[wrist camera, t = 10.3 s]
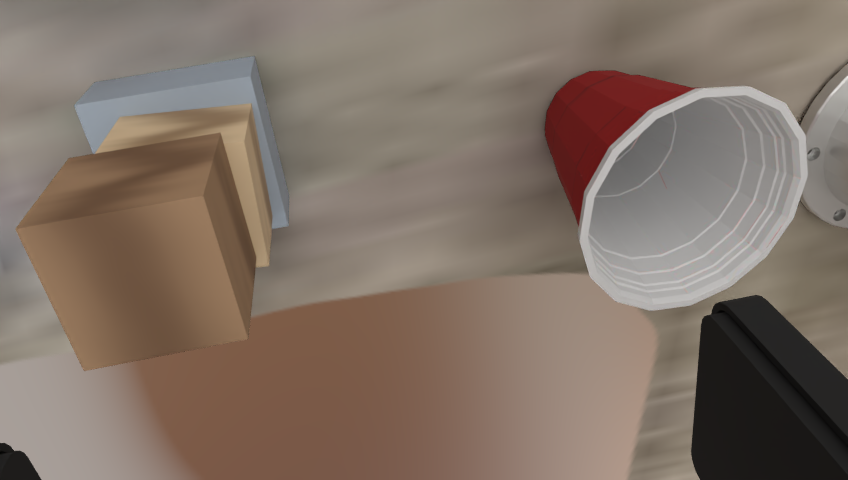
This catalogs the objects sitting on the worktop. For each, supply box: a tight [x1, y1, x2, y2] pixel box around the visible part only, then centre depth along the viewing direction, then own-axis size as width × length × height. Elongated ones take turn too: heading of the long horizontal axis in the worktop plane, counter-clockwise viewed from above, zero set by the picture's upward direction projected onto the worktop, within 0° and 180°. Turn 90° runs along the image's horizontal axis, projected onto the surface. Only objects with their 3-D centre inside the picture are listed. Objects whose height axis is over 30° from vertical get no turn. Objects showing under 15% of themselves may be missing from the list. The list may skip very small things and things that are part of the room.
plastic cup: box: [545, 71, 808, 311], centre depth 34 cm, size 11×11×12 cm
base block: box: [74, 56, 289, 229], centre depth 35 cm, size 8×8×4 cm
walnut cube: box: [16, 132, 256, 371], centre depth 26 cm, size 6×6×6 cm
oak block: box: [95, 103, 273, 267], centre depth 31 cm, size 6×6×5 cm
